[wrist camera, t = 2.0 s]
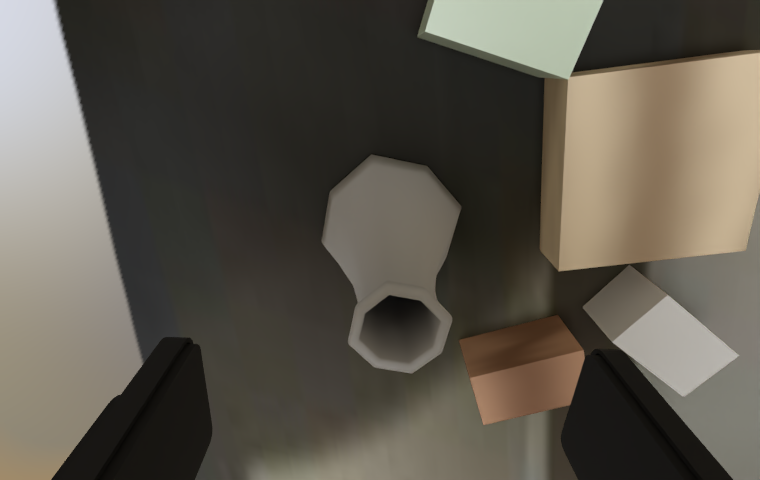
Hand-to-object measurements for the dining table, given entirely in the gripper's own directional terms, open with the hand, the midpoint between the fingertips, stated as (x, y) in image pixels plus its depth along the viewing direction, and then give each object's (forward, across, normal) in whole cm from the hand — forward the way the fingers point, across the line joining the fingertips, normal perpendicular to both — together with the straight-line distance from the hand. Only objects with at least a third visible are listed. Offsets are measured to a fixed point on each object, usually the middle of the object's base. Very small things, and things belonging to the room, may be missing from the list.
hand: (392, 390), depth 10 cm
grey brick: (+13, -16, +6) cm, 21 cm away
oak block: (+13, -13, -3) cm, 19 cm away
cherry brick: (+13, -9, +9) cm, 18 cm away
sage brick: (+13, -5, -9) cm, 17 cm away
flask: (+13, -1, +1) cm, 13 cm away
